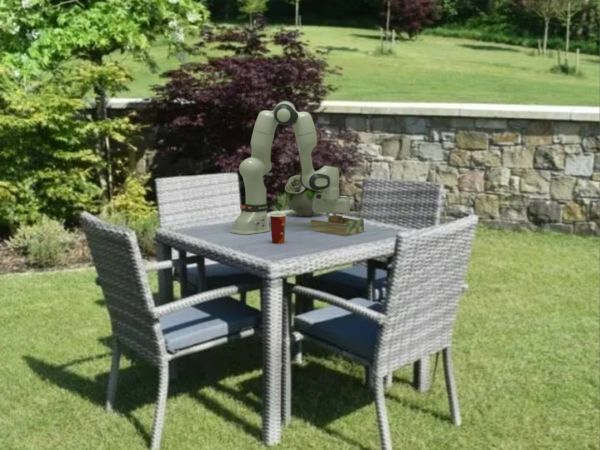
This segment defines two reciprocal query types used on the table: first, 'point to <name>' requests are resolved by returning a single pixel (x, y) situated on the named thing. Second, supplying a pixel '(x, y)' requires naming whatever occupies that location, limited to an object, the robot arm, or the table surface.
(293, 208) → the flower arrangement
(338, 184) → the robot arm
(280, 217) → the coffee cup
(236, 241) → the table surface
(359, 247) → the table surface
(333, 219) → the walnut block
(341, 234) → the trap track
